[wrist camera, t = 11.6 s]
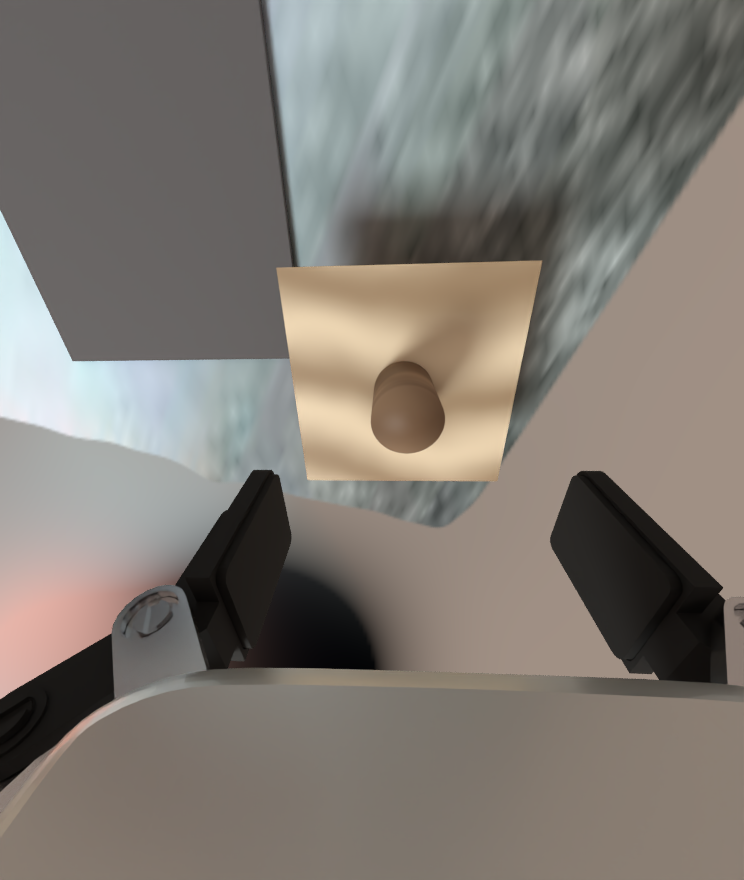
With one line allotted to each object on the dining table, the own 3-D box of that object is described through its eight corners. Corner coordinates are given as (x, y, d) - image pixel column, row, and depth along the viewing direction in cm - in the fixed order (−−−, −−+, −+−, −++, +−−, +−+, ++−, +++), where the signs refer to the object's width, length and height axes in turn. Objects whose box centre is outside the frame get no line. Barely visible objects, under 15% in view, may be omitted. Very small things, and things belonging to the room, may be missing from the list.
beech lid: (280, 267, 19) (240, 267, 14) (536, 260, 18) (595, 257, 13) (309, 474, 26) (291, 524, 21) (494, 475, 25) (521, 527, 20)
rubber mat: (-89, 6, 18) (-101, -1, 17) (258, -19, 17) (255, -27, 16) (77, 359, 27) (72, 361, 27) (304, 356, 26) (303, 358, 26)
